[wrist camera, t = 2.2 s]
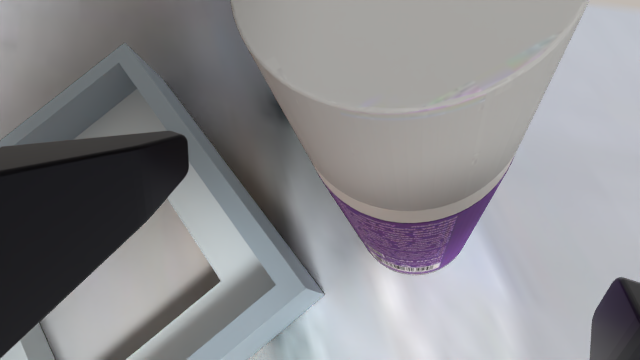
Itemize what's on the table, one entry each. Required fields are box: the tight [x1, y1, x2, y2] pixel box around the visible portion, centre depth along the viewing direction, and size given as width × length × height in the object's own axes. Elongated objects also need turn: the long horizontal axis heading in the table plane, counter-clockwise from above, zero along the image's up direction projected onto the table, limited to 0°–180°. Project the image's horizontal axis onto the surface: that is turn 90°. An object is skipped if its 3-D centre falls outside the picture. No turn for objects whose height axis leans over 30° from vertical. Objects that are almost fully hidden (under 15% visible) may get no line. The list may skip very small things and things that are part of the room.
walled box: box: [0, 43, 325, 360], centre depth 20 cm, size 15×15×4 cm
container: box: [231, 0, 589, 275], centre depth 12 cm, size 5×5×15 cm
